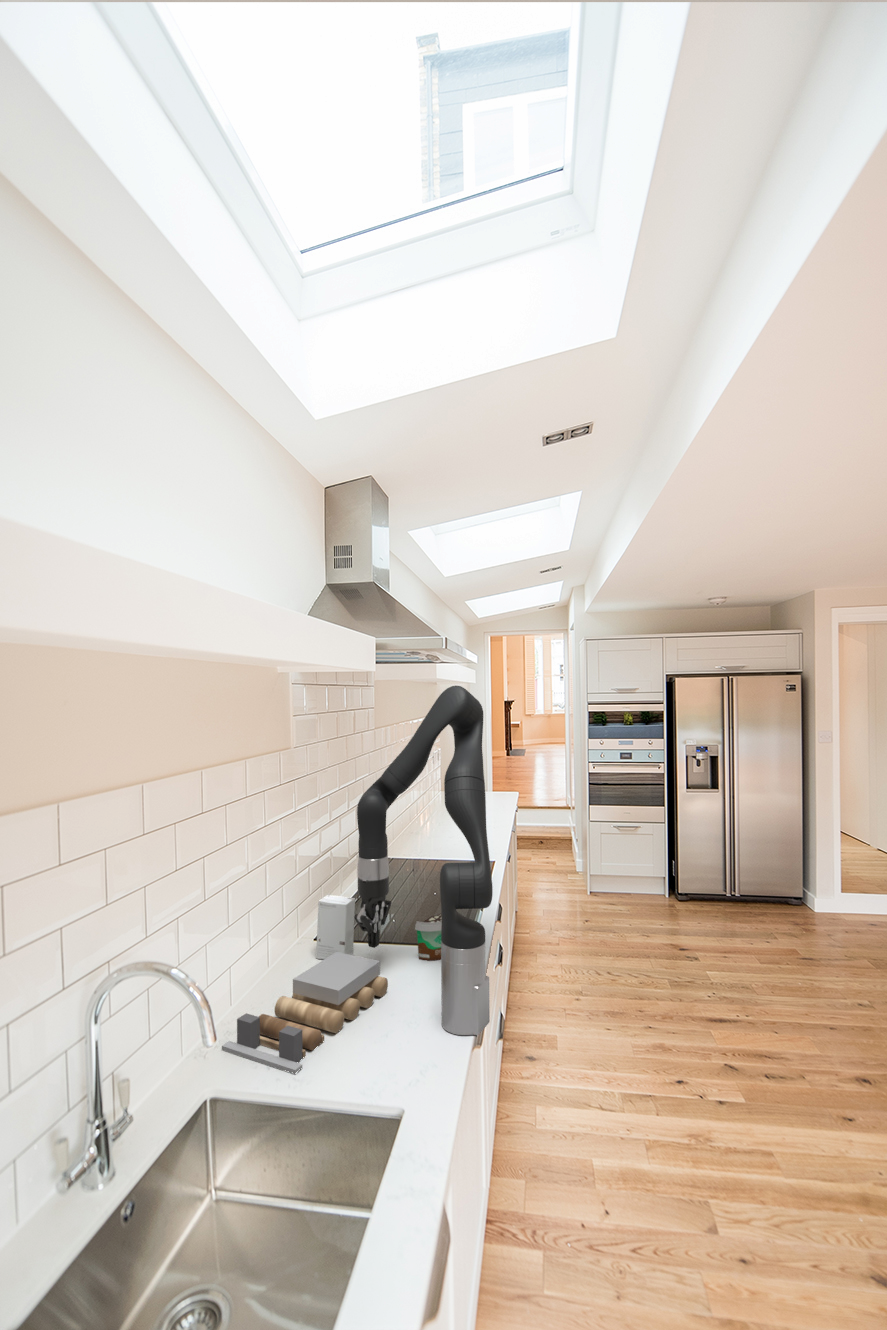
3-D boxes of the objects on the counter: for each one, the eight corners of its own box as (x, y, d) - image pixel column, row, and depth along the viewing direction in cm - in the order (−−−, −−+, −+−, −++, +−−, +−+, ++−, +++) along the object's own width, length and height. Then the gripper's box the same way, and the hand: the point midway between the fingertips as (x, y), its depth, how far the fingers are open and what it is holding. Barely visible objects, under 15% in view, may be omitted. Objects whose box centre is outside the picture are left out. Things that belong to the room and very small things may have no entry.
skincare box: (315, 959, 171) (315, 900, 171) (326, 950, 177) (326, 893, 177) (346, 963, 169) (345, 903, 169) (355, 953, 175) (355, 896, 175)
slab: (379, 974, 153) (379, 961, 153) (338, 1005, 138) (338, 990, 138) (336, 964, 158) (336, 951, 158) (292, 993, 144) (292, 979, 144)
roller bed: (387, 992, 153) (387, 974, 153) (305, 1059, 126) (305, 1037, 126) (334, 979, 160) (334, 962, 160) (245, 1040, 133) (245, 1019, 133)
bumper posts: (310, 1061, 125) (310, 1032, 125) (295, 1074, 121) (295, 1044, 121) (238, 1038, 133) (238, 1010, 134) (221, 1050, 129) (221, 1021, 130)
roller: (252, 1034, 134) (257, 1014, 135) (264, 1032, 137) (268, 1013, 138) (308, 1051, 128) (312, 1031, 129) (319, 1049, 131) (323, 1029, 132)
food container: (434, 967, 166) (434, 927, 166) (415, 961, 170) (415, 921, 170) (463, 951, 176) (462, 912, 176) (444, 945, 179) (444, 908, 180)
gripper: (375, 865, 169) (376, 933, 169) (344, 879, 157) (344, 953, 157) (400, 869, 165) (401, 939, 165) (370, 884, 154) (371, 960, 153)
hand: (373, 946), depth 161 cm, fingers closed
